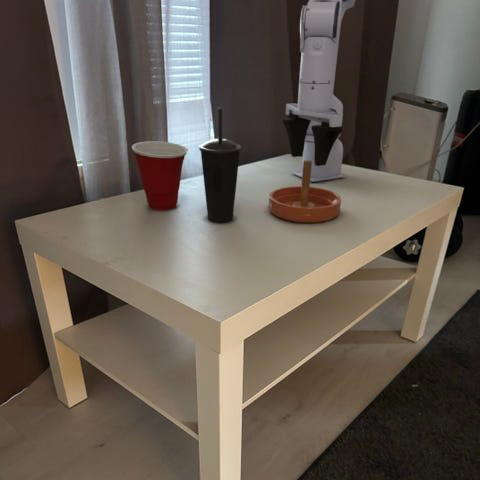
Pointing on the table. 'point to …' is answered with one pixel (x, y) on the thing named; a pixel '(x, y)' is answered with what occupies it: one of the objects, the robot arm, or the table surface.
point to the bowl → (321, 198)
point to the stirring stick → (305, 186)
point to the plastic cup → (160, 172)
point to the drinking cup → (220, 175)
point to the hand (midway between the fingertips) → (308, 160)
